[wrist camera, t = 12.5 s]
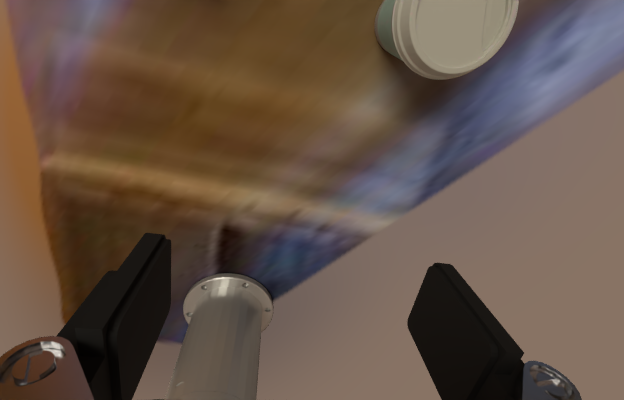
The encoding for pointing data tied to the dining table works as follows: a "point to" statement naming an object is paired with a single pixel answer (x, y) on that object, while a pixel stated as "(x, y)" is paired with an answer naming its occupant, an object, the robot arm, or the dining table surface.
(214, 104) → the dining table surface
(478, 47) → the coffee cup
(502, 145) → the dining table surface
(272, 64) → the dining table surface
